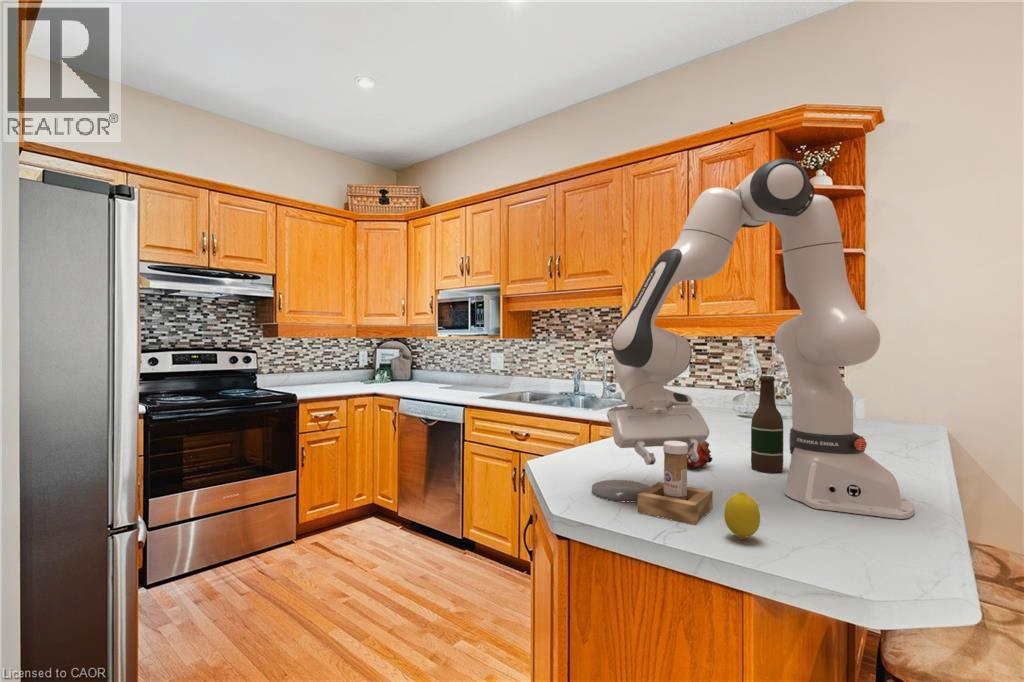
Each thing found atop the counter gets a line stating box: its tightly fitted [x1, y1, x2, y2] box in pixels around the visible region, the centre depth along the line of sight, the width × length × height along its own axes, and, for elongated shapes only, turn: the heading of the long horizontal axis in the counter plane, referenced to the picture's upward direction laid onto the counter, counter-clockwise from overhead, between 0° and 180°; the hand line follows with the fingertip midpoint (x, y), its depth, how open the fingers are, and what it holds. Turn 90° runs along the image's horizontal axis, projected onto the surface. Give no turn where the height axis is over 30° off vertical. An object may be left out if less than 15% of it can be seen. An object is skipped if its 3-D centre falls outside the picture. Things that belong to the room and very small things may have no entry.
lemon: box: [723, 491, 761, 540], centre depth 87 cm, size 6×6×8 cm
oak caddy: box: [637, 481, 714, 525], centre depth 102 cm, size 11×11×4 cm
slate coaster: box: [591, 479, 650, 503], centre depth 113 cm, size 13×13×1 cm
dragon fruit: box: [687, 440, 713, 470], centre depth 136 cm, size 8×8×12 cm
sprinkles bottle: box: [662, 441, 688, 501], centre depth 102 cm, size 5×5×14 cm
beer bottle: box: [750, 375, 784, 474], centre depth 132 cm, size 8×8×24 cm
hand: (673, 462), depth 102 cm, fingers open, 8 cm apart
